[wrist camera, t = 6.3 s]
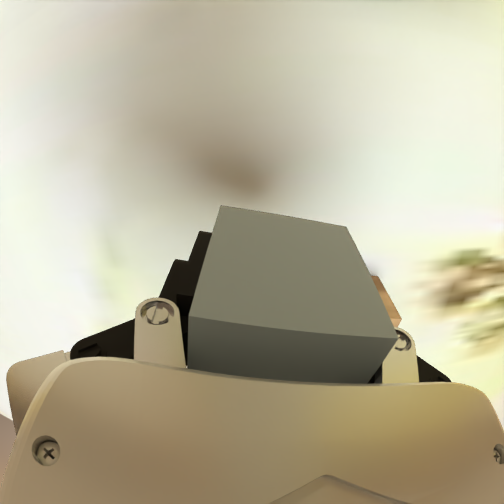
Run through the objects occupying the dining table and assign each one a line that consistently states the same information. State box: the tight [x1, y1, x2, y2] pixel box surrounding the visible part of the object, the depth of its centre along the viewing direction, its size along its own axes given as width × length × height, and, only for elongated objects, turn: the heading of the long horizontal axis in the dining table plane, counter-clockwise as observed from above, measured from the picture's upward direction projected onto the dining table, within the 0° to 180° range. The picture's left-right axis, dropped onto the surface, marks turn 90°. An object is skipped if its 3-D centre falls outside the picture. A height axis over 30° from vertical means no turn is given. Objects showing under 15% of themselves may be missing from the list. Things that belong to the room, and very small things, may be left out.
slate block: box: [187, 206, 398, 384], centre depth 10 cm, size 5×5×6 cm
